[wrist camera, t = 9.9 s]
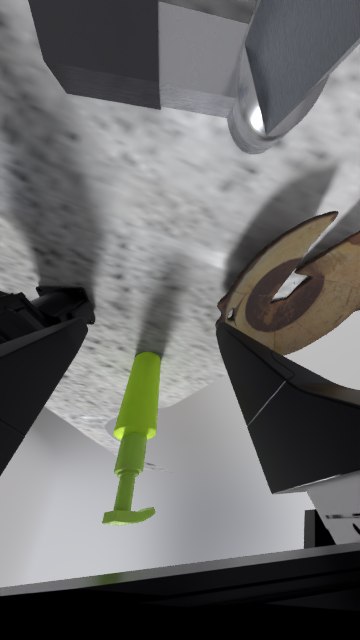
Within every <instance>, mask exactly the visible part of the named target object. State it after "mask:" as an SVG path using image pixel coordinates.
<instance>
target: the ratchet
mask: <svg viewBox="0 0 360 640" xmlns="http://www.w3.org/2000/svg"><path fill="white" fill-rule="evenodd" d="M28 1H29V5H30V9H31V13H32V17H33V20H34V24H35V28H36V32H37V36H38V40H39V44H40V48H41V52H42V55H43V59H44V62H45V63H46V64H47V66H48V67H49V69H50V70H51V72H52V73H53V74H54V76H55V77H56V79H57V80H58V82H59V83H60V84H61V86H62V87H63V89H64V90H65V92H66V93H68V94H74V95H79V96H85V97H91V98H97V99H102V100H108V101H114V102H120V103H125V104H131V105H137V106H143V107H148V108H154V109H160V110H161V106H164V107H170V108H175V109H181V110H187V111H192V112H198V113H204V114H209V115H215V116H221V117H226V118H227V120H228V126H229V130H230V133H231V136H232V138H233V140H234V142H235V143H236V145H237V146H238V147H239V148H240V149H241V150H242V151H244V152H246V153H249V154H259V153H262V152H264V151H266V150H268V149H269V148H271V147H272V146H273V145H274V144H276V143H277V142H278V141H279V140H280V139H281V138H282V137H283V136H285V135H286V134H287V133H288V132H289V131H290V130H291V129H292V128H293V127H295V126H296V125H297V124H298V123H299V122H300V121H301V120H302V119H303V118H304V117H305V116H306V115H307V113H308V112H309V111H310V109H311V108H312V107H313V105H314V104H315V102H316V101H317V99H318V97H319V96H320V94H321V92H322V90H323V88H324V86H325V84H326V82H327V80H328V77H329V76H328V77H327V78H326V79H325V80H324V81H322V82H321V83H320V84H319V85H318V86H317V87H316V88H315V89H314V90H313V91H312V92H311V93H310V94H309V95H308V96H307V97H306V98H305V99H304V100H303V101H302V102H301V103H300V104H299V105H298V106H297V107H296V108H295V109H294V110H293V111H292V112H291V113H290V114H289V115H288V116H287V117H286V118H285V119H284V120H282V121H281V122H280V123H279V124H278V125H277V126H276V127H275V128H274V129H273V130H272V131H271V132H270V133H269V134H268V135H267V136H266V133H265V129H264V125H263V120H262V116H261V112H260V108H259V103H258V99H257V95H256V91H255V87H254V82H253V78H252V74H251V70H250V65H249V61H248V57H247V53H246V49H245V44H244V42H245V40H246V37H247V34H248V32H249V29H250V27H251V24H252V21H253V19H254V16H255V14H256V11H257V8H258V6H259V3H260V1H261V0H258V1H257V4H256V6H255V9H254V12H253V14H252V17H251V20H250V22H249V24H247V23H243V22H239V21H235V20H231V19H227V18H223V17H219V16H215V15H211V14H207V13H203V12H200V11H196V10H192V9H188V8H184V7H180V6H176V5H172V4H168V3H164V2H160V1H158V0H28Z"/></svg>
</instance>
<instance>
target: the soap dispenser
mask: <svg viewBox="0 0 360 640" xmlns="http://www.w3.org/2000/svg"><path fill="white" fill-rule="evenodd" d="M160 365H161V360H160V357H159V356H158V355H156V354H154V353H151V352H143V353H140V354H138V355H137V356H136V357H135V359H134V363H133V366H132V370H131V373H130V377H129V380H128V384H127V387H126V391H125V394H124V398H123V401H122V405H121V408H120V412H119V415H118V419H117V423H116V426H115V429H114V436H115V437H116V438H118V439H120V440H121V444H120V448H119V452H118V457H117V461H116V465H115V469H114V473H115V474H118V475H117V476H118V477H119V478H120V481H119V486H118V491H117V496H116V501H115V506H114V511H110V512H106V513H104V518H103V522H102V523H103V524H112V525H126V524H132V523H138V522H141V521H144V520H146V519H148V518H149V517H151V516H152V515H153V514H155V509H154V507H151V508H146V509H142V510H140V511H138V512H135V511H134V512H133V511H130V510H131V503H132V496H133V489H134V482H135V477H136V476H138V475H139V473H141V472H142V471H143V467H144V458H145V449H146V440H147V439H150V438H152V437H154V436H155V434H156V425H157V410H158V395H159V380H160Z"/></svg>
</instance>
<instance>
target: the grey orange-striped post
mask: <svg viewBox="0 0 360 640" xmlns="http://www.w3.org/2000/svg"><path fill="white" fill-rule="evenodd" d="M244 44H245V49H246V53H247V57H248V61H249V65H250V70H251V74H252V78H253V82H254V87H255V91H256V95H257V99H258V103H259V108H260V112H261V116H262V120H263V125H264V129H265V133H266V136H267V135H268V134H269V133H270V132H271V131H272V130H273V129H274V128H275V127H276V126H277V125H278V124H279V123H280V122H281V121H282V120H284V119H285V118H286V117H287V116H288V115H289V114H290V113H291V112H292V111H293V110H294V109H295V108H296V107H297V106H298V105H299V104H300V103H301V102H302V101H303V100H304V99H305V98H306V97H307V96H308V95H309V94H310V93H311V92H312V91H313V90H314V89H315V88H316V87H317V86H318V85H319V84H320V83H321V82H322V81H324V80H325V79H326V78H327V77H328V76H329V75H330V74H331V73H332V72H333V71H334V70H335V69H336V68H337V67H338V65H339V64H340V63H341V62H342V61H343V60H344V59H345V58H346V57H347V56H348V55H349V54H350V53H351V52H352V51H353V50H354V49H355V48H356V47H357V46H358V45H359V44H360V0H261V1H260V3H259V6H258V8H257V11H256V14H255V16H254V19H253V21H252V24H251V27H250V29H249V32H248V34H247V37H246V40H245V42H244Z"/></svg>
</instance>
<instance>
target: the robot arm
mask: <svg viewBox="0 0 360 640" xmlns="http://www.w3.org/2000/svg"><path fill="white" fill-rule="evenodd" d="M36 290H37V292H38V294H39V296H40V297H39V298H37V299H34V300H32V301H29V300H28V299H27V298H26V296H25V295H24V294H23V293H22V292H20V293H17V294H13V293H10V294H8V293H5V292H2V291H0V476H1V474H2V473H3V471H4V469H5V468H6V466H7V465H8V463H9V461H10V460H11V458H12V457H13V455H14V453H15V452H16V450H17V449H18V447H19V445H20V444H21V442H22V441H23V439H24V437H25V435H26V434H27V432H28V431H29V429H30V427H31V426H32V424H33V423H34V421H35V420H36V418H37V416H38V415H39V413H40V412H41V410H42V409H43V407H44V405H45V404H46V402H47V401H48V399H49V397H50V396H51V394H52V393H53V391H54V389H55V388H56V386H57V385H58V383H59V381H60V380H61V378H62V377H63V375H64V374H65V372H66V370H67V369H68V367H69V366H70V364H71V362H72V361H73V359H74V358H75V356H76V354H77V353H78V351H79V349H80V347H81V345H82V343H83V341H84V339H85V337H86V335H87V332H88V327H87V325H86V324H94V323H95V319H94V316H93V315H94V314H93V311H92V308H91V305H90V302H89V301H88V298H87V295H86V292H85V290H84V289H83V288H81V287H57V286H38V287H36ZM80 290H81V291H82V292H80ZM91 321H92V322H91ZM216 336H217V340H218V345H219V349H220V353H221V356H222V359H223V361H224V364H225V367H226V370H227V372H228V375H229V378H230V380H231V383H232V386H233V389H234V391H235V394H236V397H237V400H238V403H239V405H240V408H241V411H242V414H243V416H244V419H245V422H246V425H247V426H248V427H247V428H248V431H249V433H250V436H251V439H252V441H253V444H254V447H255V450H256V452H257V455H258V458H259V461H260V464H261V466H262V469H263V472H264V474H265V477H266V480H267V482H268V486H269V488H270V491H271V493H272V494H283V493H293V492H305V491H307V493H308V495H309V497H310V499H311V500H312V502H313V504H314V506H315V508H316V509H315V510H305V523H304V524H305V525H304V526H305V527H304V549H300V550H292V551H284V552H277V553H268V554H261V555H253V556H245V557H237V558H229V559H221V560H214V561H206V562H198V563H190V564H182V565H175V566H167V567H159V568H152V569H143V570H136V571H128V572H120V573H112V574H104V575H98V576H89V577H82V578H73V579H65V580H58V581H50V582H43V583H34V584H26V585H19V586H11V587H3V588H0V640H360V390H355V389H351V388H347V387H344V386H341V385H338V384H336V383H333V382H331V381H329V380H327V379H325V378H323V377H321V376H320V375H318V374H316V373H314V372H312V371H310V370H308V369H306V368H304V367H302V366H300V365H298V364H297V363H295V362H293V361H291V360H289V359H287V358H285V357H284V356H282V355H280V354H279V353H277V352H275V351H274V350H272V349H271V350H270V348H268V347H267V346H265V345H263V344H262V343H260V342H258V341H256V340H255V339H253V338H251V337H250V336H248V335H246V334H245V333H243V332H241V331H240V330H238V329H236V328H234V327H233V326H231V325H229V324H228V323H226V322H219V323H218V326H217V330H216Z"/></svg>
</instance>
